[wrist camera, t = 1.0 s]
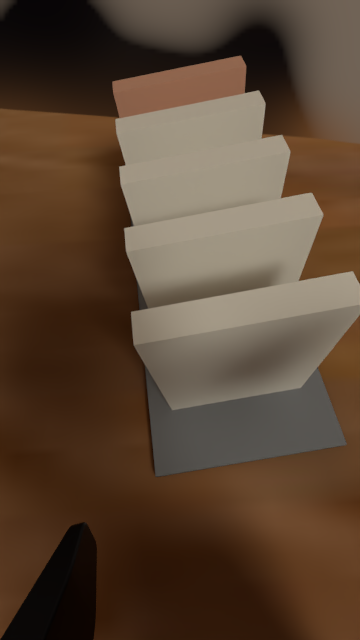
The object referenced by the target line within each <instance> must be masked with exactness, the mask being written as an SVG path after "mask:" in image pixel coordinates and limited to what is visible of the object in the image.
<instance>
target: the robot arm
mask: <svg viewBox="0 0 360 640" xmlns="http://www.w3.org/2000/svg"><path fill="white" fill-rule="evenodd" d="M96 566H97V547H96V541H95V539H94V537H93V535H92V533H91V531H90V529H89V527H88V525H87V523H85V522H83V523H79V524H75V525H72V526H71V527H70V528H69V529H68V531H67V532H66V534H65V536H64V537H63V539H62V540H61V542H60V544H59V545H58V547H57V549H56V550H55V552H54V553H53V555H52V557H51V558H50V560H49V562H48V563H47V565H46V566H45V568H44V570H43V571H42V573H41V575H40V576H39V578H38V579H37V581H36V583H35V584H34V586H33V588H32V589H31V591H30V592H29V594H28V596H27V597H26V599H25V601H24V602H23V604H22V605H21V607H20V609H19V610H18V612H17V614H16V615H15V617H14V618H13V620H12V622H11V623H10V625H9V627H8V628H7V630H6V631H5V633H4V635H3V636H2V638H1V640H93V639H94V629H95V617H96Z"/></svg>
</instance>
